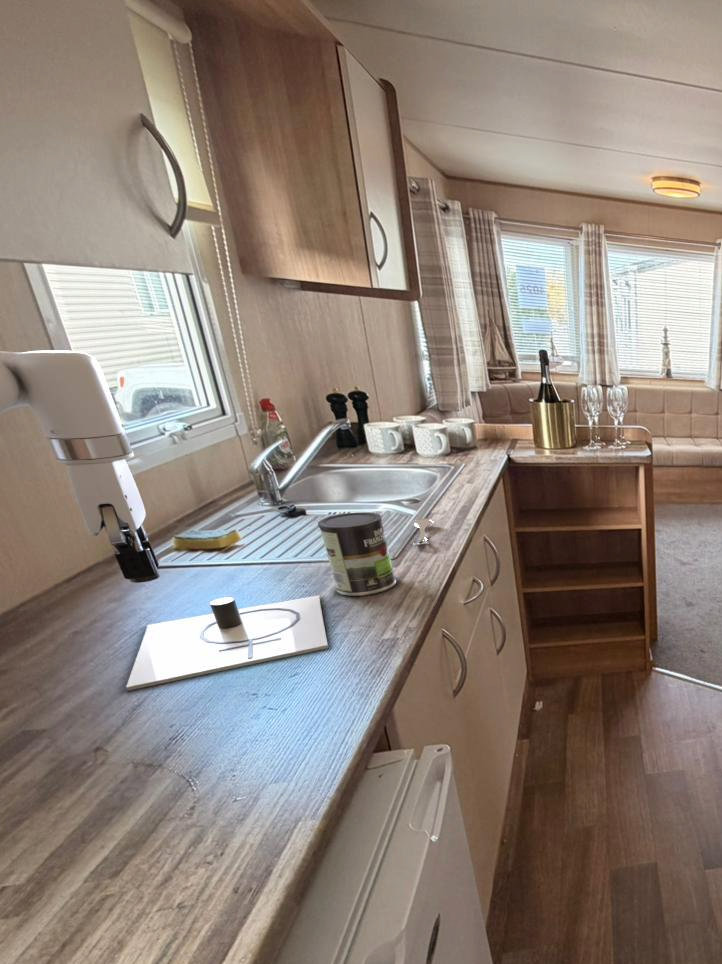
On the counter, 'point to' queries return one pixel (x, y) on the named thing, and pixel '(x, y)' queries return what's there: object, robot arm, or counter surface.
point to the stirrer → (422, 529)
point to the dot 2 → (226, 613)
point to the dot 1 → (150, 578)
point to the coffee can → (357, 553)
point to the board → (227, 641)
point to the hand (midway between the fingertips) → (142, 571)
